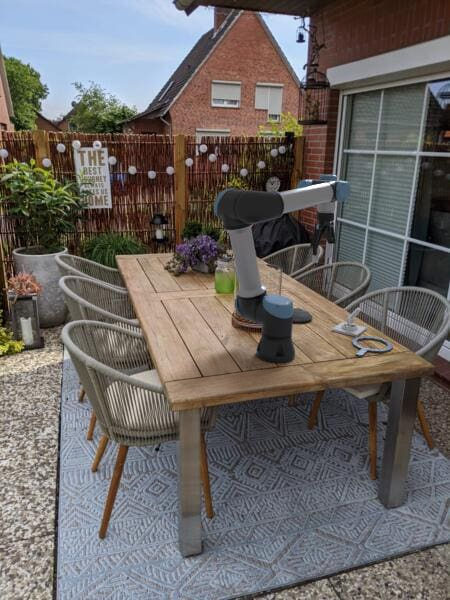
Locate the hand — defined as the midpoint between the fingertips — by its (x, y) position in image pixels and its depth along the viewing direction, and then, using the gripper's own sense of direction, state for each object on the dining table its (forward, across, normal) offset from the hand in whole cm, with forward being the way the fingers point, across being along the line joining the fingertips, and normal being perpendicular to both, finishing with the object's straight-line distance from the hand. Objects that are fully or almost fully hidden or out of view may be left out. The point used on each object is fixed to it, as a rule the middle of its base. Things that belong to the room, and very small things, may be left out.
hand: (321, 260), depth 198 cm
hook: (+31, -6, +14) cm, 34 cm away
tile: (+32, -6, +14) cm, 35 cm away
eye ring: (+32, +8, +28) cm, 43 cm away
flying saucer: (+32, -5, -13) cm, 35 cm away
